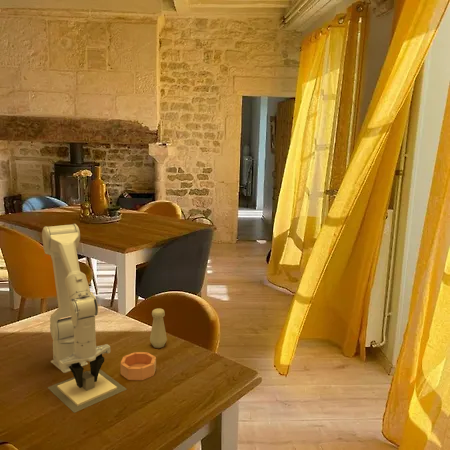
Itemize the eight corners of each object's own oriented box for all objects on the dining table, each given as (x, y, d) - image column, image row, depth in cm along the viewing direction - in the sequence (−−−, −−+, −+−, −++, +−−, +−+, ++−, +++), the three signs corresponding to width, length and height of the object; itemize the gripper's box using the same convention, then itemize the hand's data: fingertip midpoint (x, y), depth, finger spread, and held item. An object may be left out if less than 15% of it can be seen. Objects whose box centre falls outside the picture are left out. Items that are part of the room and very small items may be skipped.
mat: (47, 388, 129) (47, 387, 129) (98, 368, 140) (98, 367, 140) (74, 414, 118) (74, 412, 118) (127, 390, 129) (127, 389, 129)
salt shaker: (163, 350, 153) (163, 314, 150) (147, 348, 154) (147, 312, 151) (169, 342, 158) (169, 307, 155) (153, 340, 159) (153, 305, 157)
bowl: (115, 371, 139) (114, 359, 138) (142, 360, 146) (142, 349, 145) (134, 385, 132) (133, 372, 131) (161, 372, 139) (161, 360, 138)
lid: (57, 387, 129) (56, 374, 128) (95, 372, 137) (95, 360, 136) (77, 406, 120) (76, 392, 120) (117, 389, 129) (116, 375, 128)
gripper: (66, 352, 118) (69, 399, 121) (115, 335, 128) (117, 379, 131) (54, 343, 123) (57, 388, 125) (102, 327, 133) (104, 369, 136)
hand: (86, 383), depth 128 cm, fingers open, 4 cm apart
